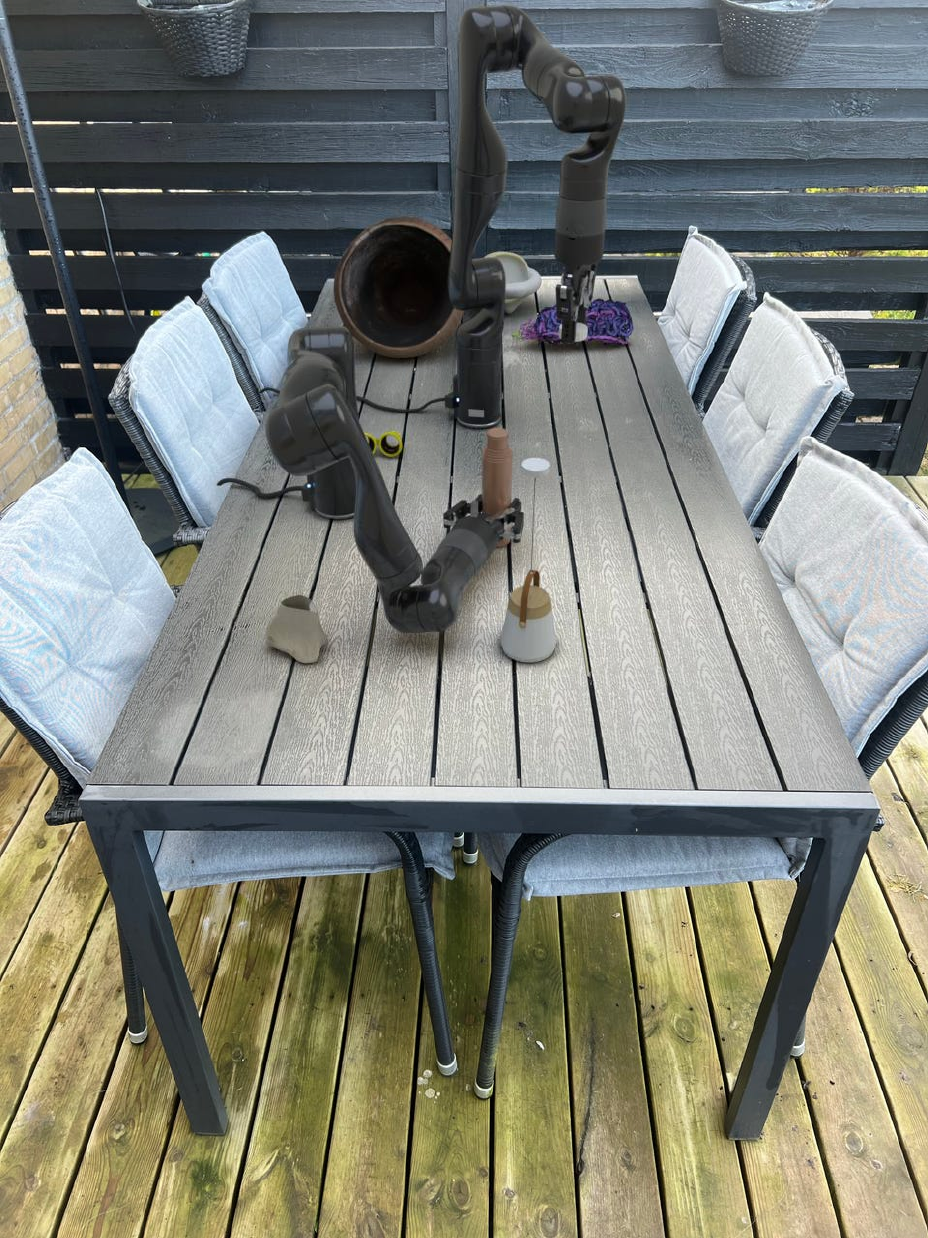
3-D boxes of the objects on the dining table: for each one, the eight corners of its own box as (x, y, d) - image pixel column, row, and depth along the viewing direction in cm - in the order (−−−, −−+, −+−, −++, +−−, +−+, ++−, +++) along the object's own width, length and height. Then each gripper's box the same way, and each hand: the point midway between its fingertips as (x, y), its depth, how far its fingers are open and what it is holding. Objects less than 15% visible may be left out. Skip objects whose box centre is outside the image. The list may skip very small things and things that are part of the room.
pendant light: (546, 668, 133) (557, 484, 115) (492, 656, 136) (495, 473, 117) (562, 635, 139) (574, 455, 121) (510, 624, 142) (515, 445, 123)
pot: (369, 208, 238) (367, 184, 209) (481, 265, 243) (494, 249, 214) (320, 328, 244) (311, 320, 215) (430, 381, 249) (435, 380, 220)
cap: (557, 340, 150) (557, 331, 149) (559, 330, 154) (560, 320, 153) (586, 342, 149) (586, 333, 148) (588, 331, 153) (588, 322, 152)
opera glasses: (402, 450, 189) (400, 426, 187) (403, 457, 184) (401, 432, 182) (354, 452, 188) (352, 428, 186) (354, 460, 184) (352, 435, 182)
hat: (455, 295, 261) (454, 240, 252) (532, 292, 263) (534, 237, 254) (465, 327, 242) (464, 268, 233) (548, 323, 244) (550, 264, 235)
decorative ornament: (640, 324, 222) (516, 326, 219) (631, 360, 231) (512, 363, 228) (629, 291, 230) (509, 293, 227) (621, 327, 238) (506, 329, 236)
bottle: (509, 531, 163) (512, 425, 151) (511, 547, 159) (513, 439, 147) (481, 532, 163) (481, 425, 151) (482, 547, 159) (482, 439, 147)
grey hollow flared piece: (327, 654, 140) (334, 590, 137) (317, 670, 132) (324, 604, 130) (268, 645, 140) (274, 582, 137) (255, 661, 132) (261, 594, 130)
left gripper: (507, 539, 142) (542, 487, 155) (422, 521, 146) (462, 472, 159) (506, 579, 147) (540, 526, 159) (424, 561, 151) (463, 510, 164)
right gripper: (572, 212, 147) (565, 318, 158) (541, 236, 137) (536, 348, 148) (617, 217, 145) (608, 325, 155) (589, 242, 135) (581, 356, 145)
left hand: (501, 499), depth 159 cm, fingers closed on bottle, 5 cm apart
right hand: (573, 336), depth 151 cm, fingers closed on cap, 4 cm apart
